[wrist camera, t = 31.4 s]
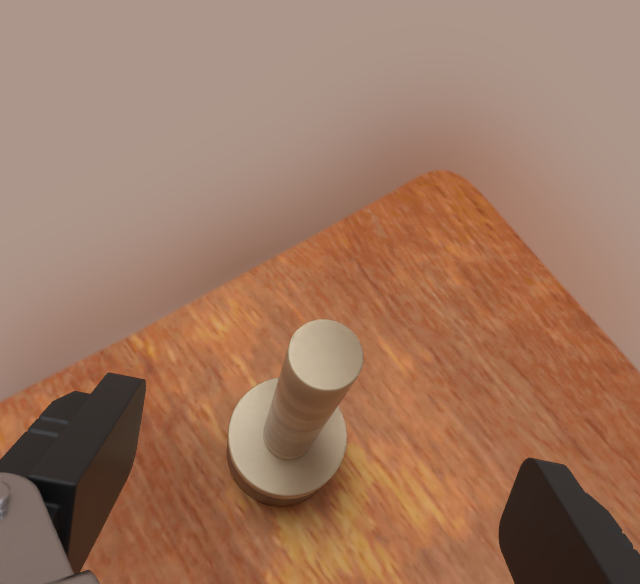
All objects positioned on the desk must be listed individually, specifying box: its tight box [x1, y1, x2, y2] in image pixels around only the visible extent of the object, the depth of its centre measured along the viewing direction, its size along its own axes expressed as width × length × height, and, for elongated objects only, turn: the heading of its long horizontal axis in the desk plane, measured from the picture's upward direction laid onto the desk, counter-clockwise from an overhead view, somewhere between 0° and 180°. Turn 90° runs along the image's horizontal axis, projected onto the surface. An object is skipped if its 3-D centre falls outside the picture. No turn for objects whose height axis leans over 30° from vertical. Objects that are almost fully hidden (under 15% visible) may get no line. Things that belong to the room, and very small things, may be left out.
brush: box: [227, 319, 363, 506], centre depth 25 cm, size 6×6×14 cm
